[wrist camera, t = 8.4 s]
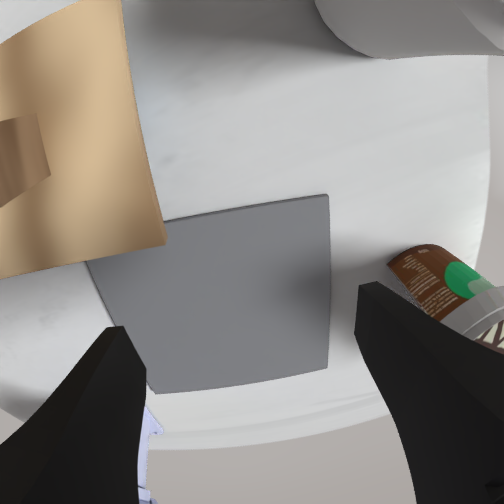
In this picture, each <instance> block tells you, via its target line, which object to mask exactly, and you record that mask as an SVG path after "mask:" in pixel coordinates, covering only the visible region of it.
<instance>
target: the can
mask: <svg viewBox="0 0 504 504" xmlns="http://www.w3.org/2000/svg"><path fill="white" fill-rule="evenodd" d="M315 5H316V7H317V9H318V11H319V13H320V15H321V17H322V19H323V21H324V22H325V24H326V25H327V26H328V27H329V28H330V29H331V30H332V32H333V33H334V34H335V35H336V36H337V38H339V39H340V40H342V41H343V42H344V43H346V44H347V45H348V46H350V47H351V48H352V49H354V50H356V51H358V52H361V53H363V54H365V55H368V56H370V57H372V58H381V59H388V60H391V59H399V58H409V57H421V56H438V55H497V56H504V0H315Z"/></svg>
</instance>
